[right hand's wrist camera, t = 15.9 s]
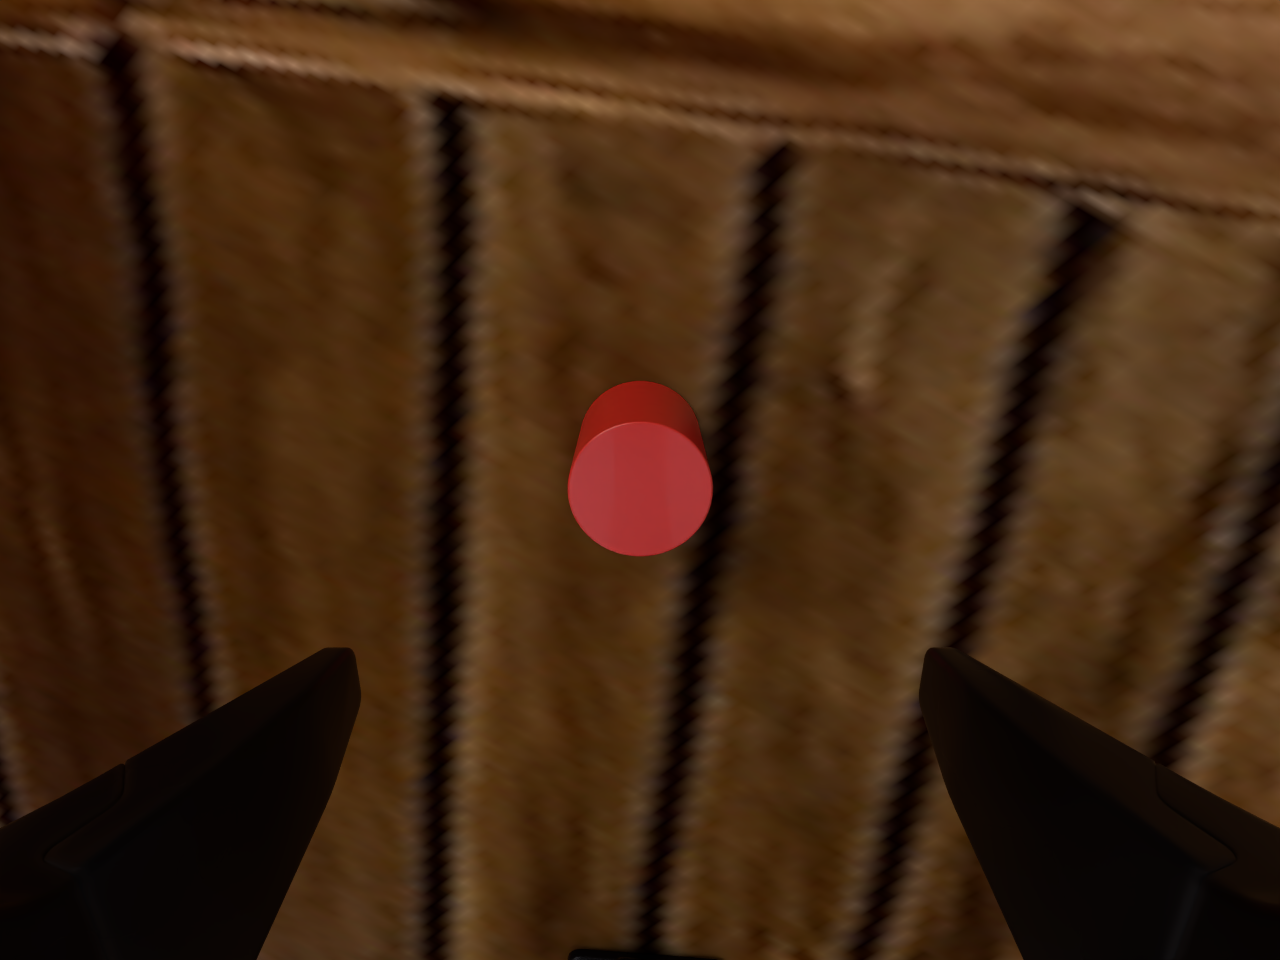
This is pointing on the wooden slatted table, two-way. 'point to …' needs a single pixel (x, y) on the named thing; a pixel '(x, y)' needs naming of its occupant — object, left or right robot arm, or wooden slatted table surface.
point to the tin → (640, 471)
